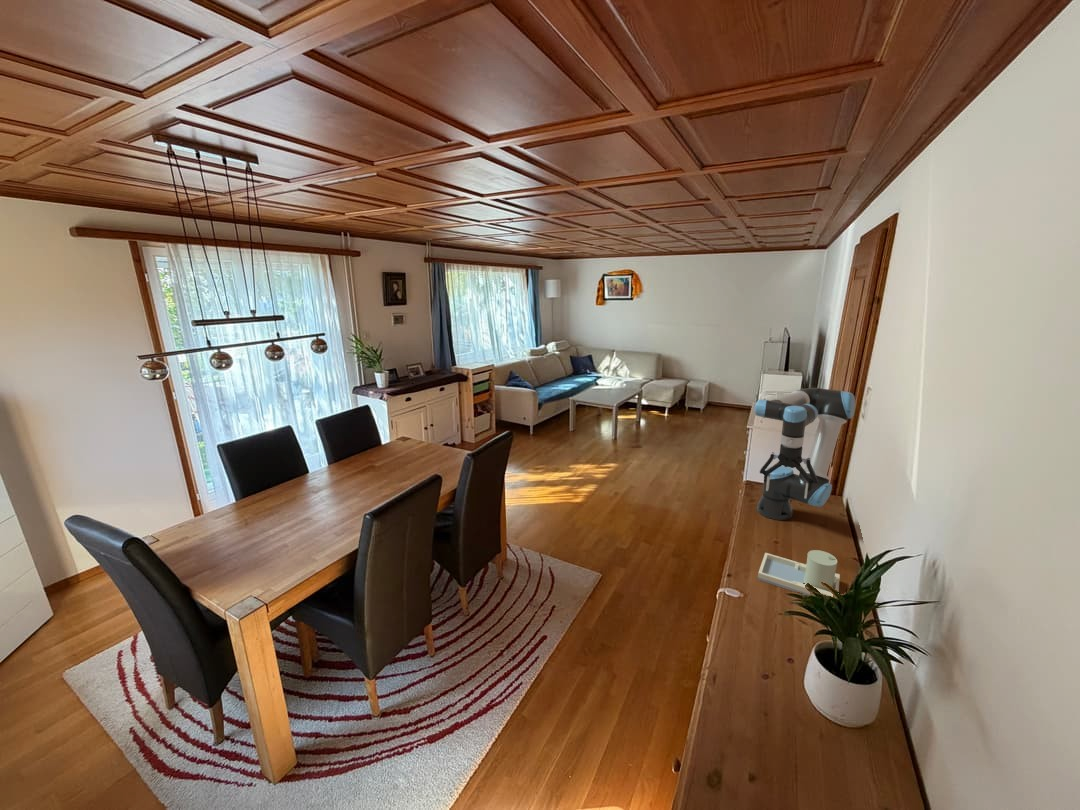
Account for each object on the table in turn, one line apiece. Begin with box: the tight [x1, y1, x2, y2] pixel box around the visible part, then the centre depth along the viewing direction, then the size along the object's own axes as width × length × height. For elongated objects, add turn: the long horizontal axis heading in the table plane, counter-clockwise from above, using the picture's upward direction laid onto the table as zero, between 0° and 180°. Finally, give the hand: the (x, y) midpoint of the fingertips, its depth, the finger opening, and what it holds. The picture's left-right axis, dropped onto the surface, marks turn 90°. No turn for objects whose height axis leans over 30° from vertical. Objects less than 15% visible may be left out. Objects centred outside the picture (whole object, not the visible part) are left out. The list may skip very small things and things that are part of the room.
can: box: [804, 549, 838, 592], centre depth 153 cm, size 9×9×12 cm
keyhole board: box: [757, 552, 841, 597], centre depth 159 cm, size 15×25×3 cm, turn 54°
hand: (786, 493), depth 171 cm, fingers open, 13 cm apart
